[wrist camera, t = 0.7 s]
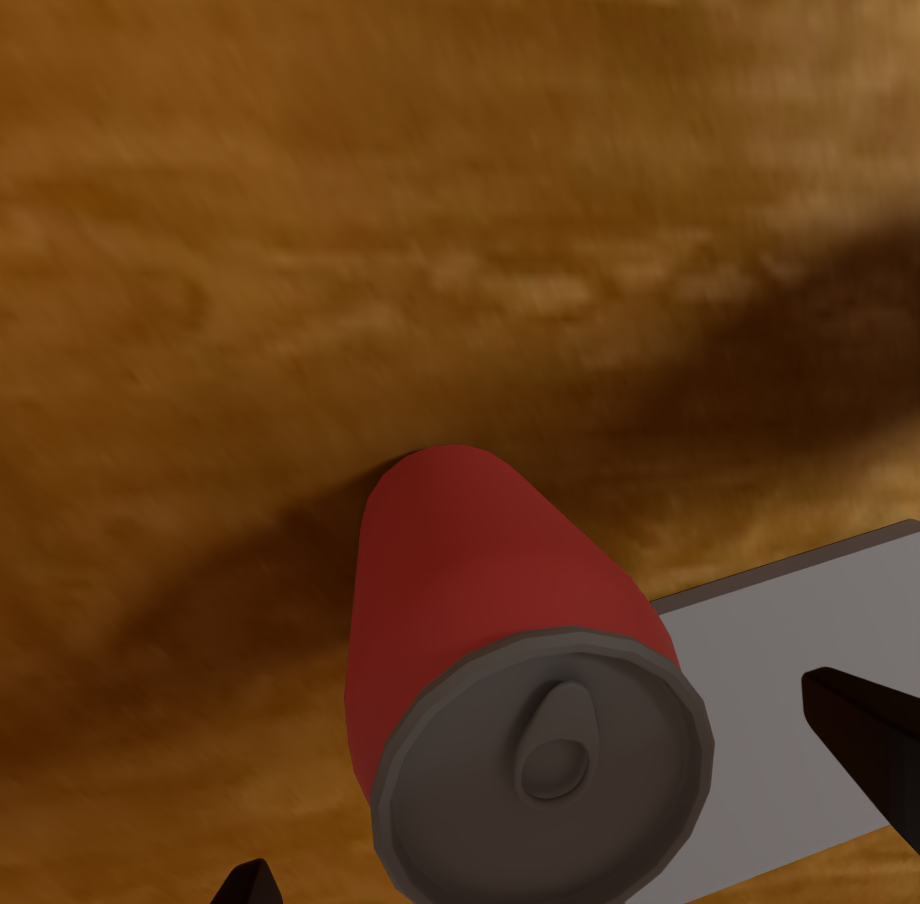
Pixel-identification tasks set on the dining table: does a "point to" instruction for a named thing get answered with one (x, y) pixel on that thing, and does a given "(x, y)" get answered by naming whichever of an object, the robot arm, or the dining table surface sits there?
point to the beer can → (512, 697)
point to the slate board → (786, 700)
